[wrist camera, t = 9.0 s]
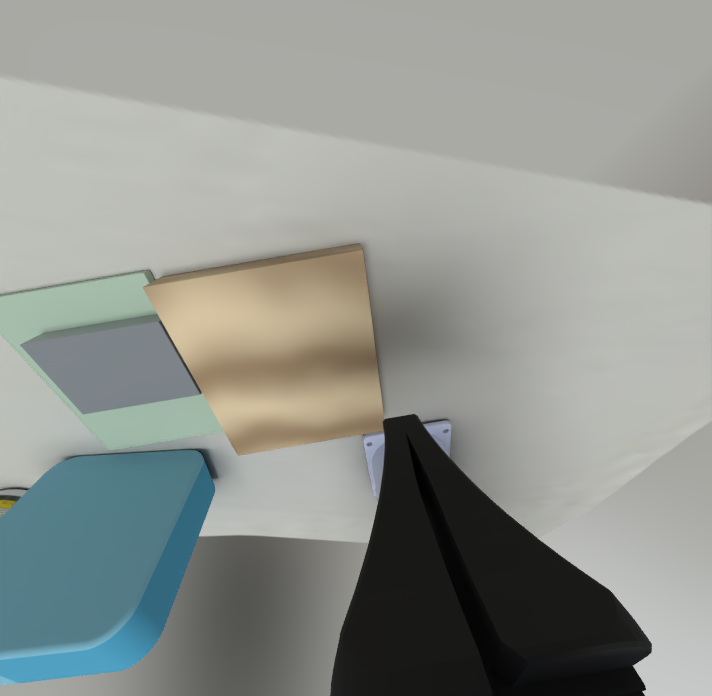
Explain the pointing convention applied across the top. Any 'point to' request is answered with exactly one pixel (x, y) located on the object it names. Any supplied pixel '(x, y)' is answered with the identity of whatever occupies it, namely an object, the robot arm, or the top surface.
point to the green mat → (93, 306)
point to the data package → (97, 561)
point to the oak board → (279, 346)
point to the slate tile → (114, 364)
